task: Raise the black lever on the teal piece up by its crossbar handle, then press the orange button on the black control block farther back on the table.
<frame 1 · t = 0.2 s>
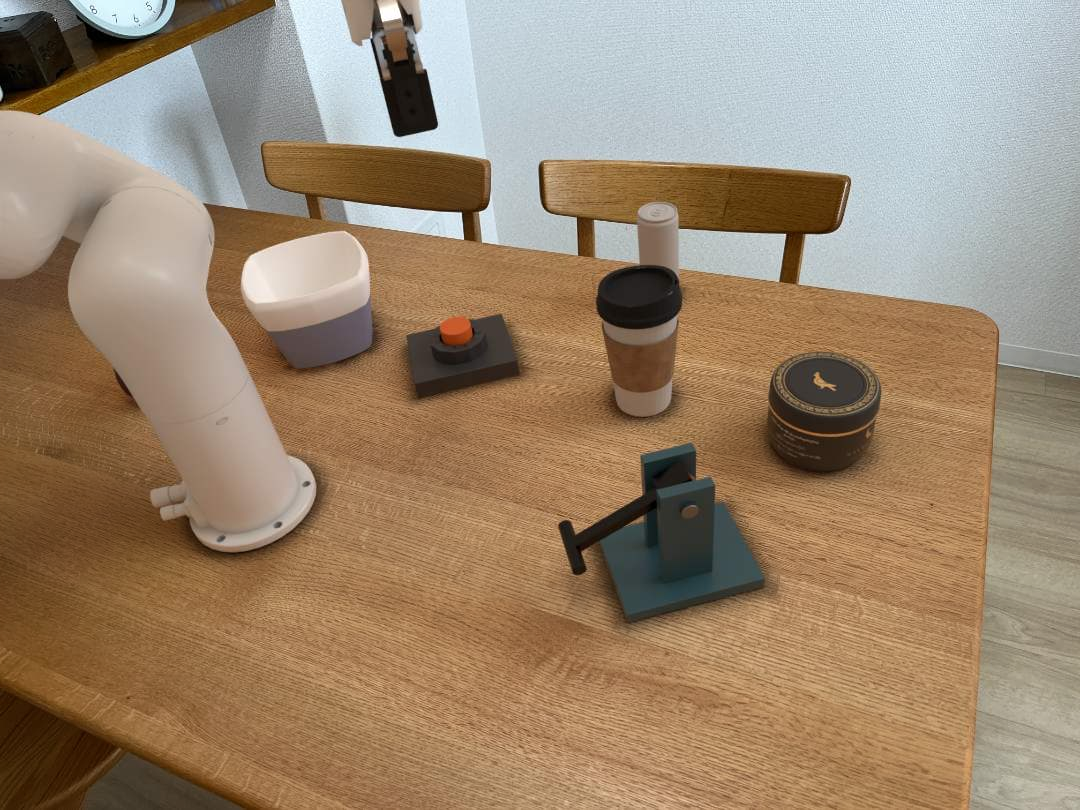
hand: (409, 108, 61), 36 cm above the table, tool pointing down, fingers open, 9 cm apart
coffee cup: (643, 400, 88), on the table
bowl: (329, 341, 104), on the table
teal piece: (678, 563, 71), on the table
button: (456, 331, 94), point 4 cm above the table, slide at 0.1 cm
beverage can: (659, 298, 102), on the table
jar: (816, 442, 80), on the table
lever: (627, 514, 65), point 8 cm above the table, hinge at -25.0°
potato: (161, 392, 100), on the table
button block: (463, 361, 97), on the table
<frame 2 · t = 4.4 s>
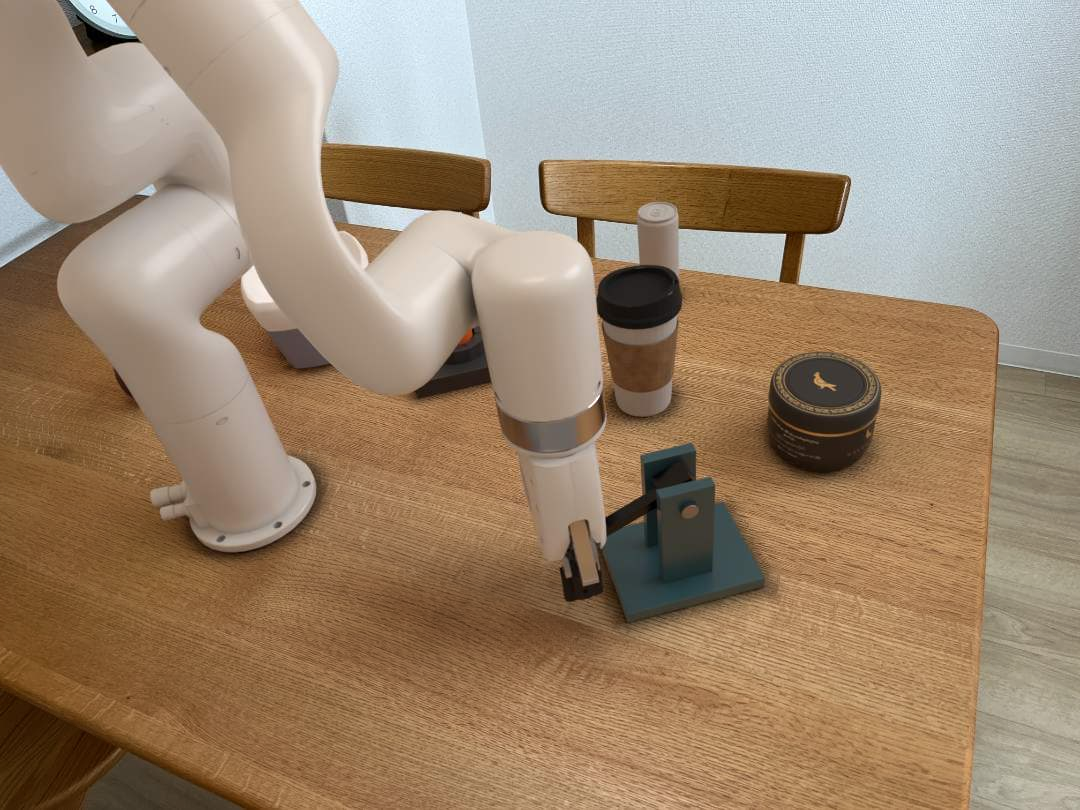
hand: (574, 566, 68), 3 cm above the table, tool pointing down, fingers closed on lever, 5 cm apart
lever: (627, 514, 65), point 8 cm above the table, hinge at -25.0°, touching gripper
everything else where it was.
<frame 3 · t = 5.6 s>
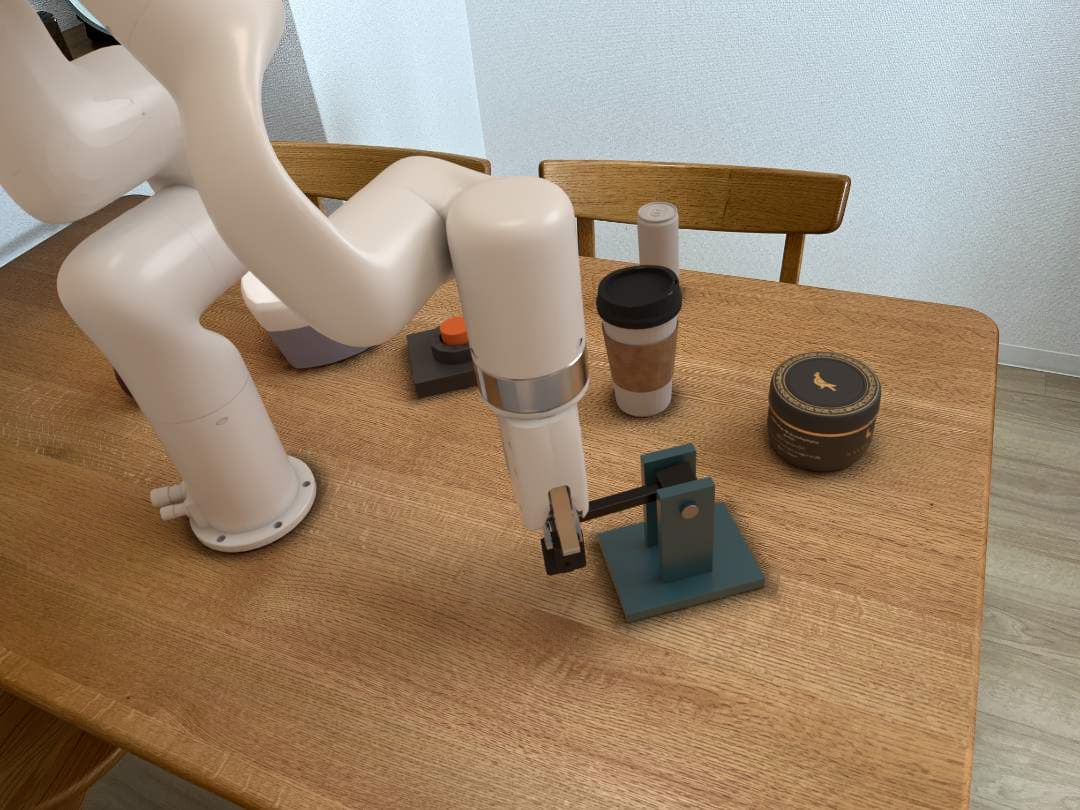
hand: (557, 539, 65), 7 cm above the table, tool pointing down, fingers closed on lever, 5 cm apart
lever: (621, 501, 64), point 10 cm above the table, hinge at -3.2°, touching gripper
everything else where it was.
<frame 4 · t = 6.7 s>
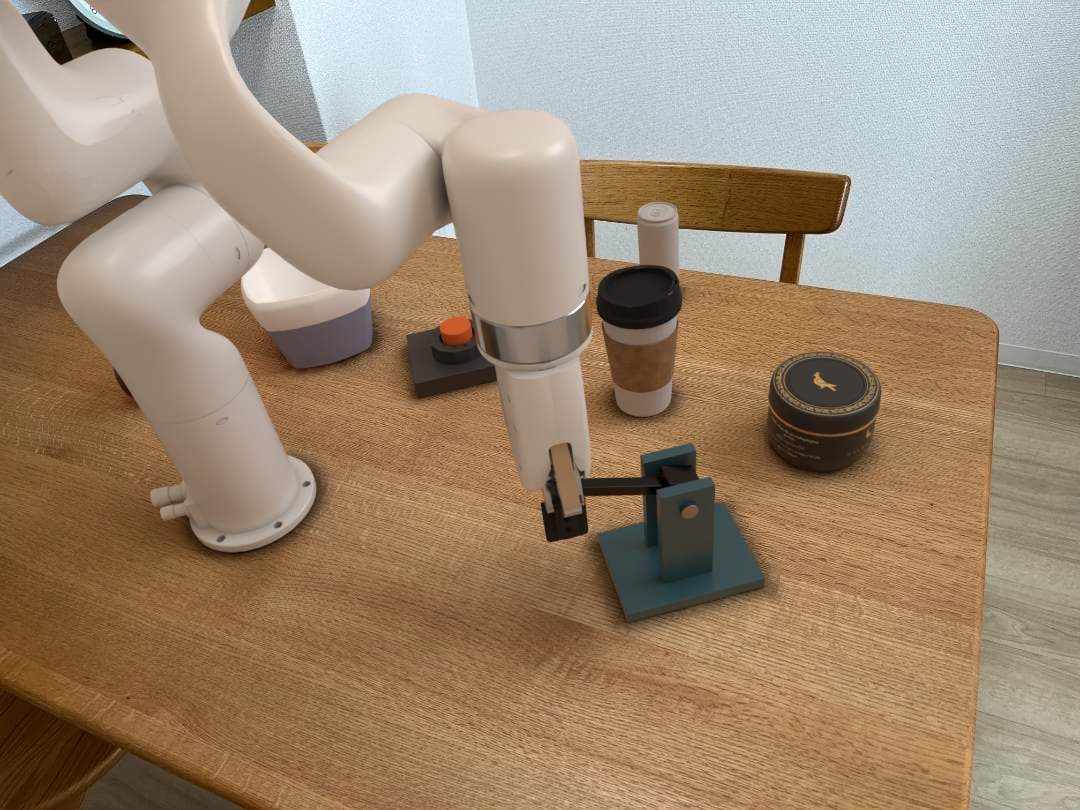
hand: (558, 505, 63), 11 cm above the table, tool pointing down, fingers closed on lever, 5 cm apart
lever: (623, 486, 63), point 11 cm above the table, hinge at 17.7°, touching gripper
everything else where it was.
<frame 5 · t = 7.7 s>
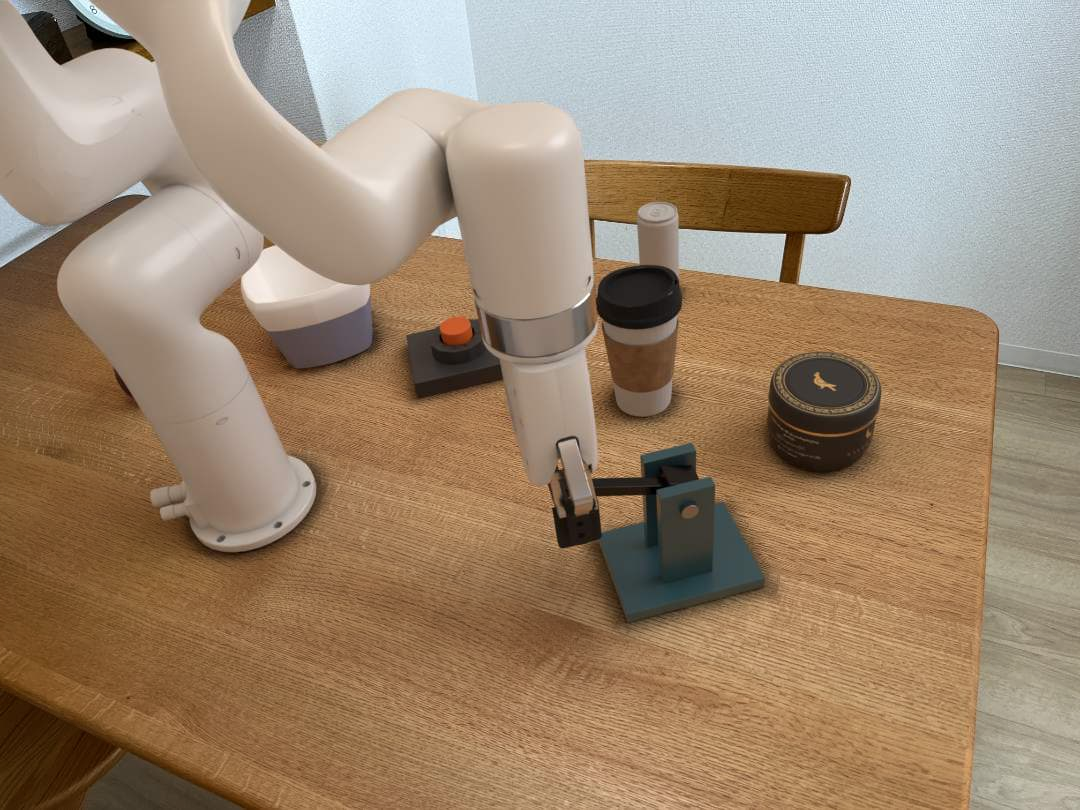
hand: (563, 493, 62), 12 cm above the table, tool pointing down, fingers open, 9 cm apart
lever: (623, 486, 63), point 11 cm above the table, hinge at 17.4°
everything else where it was.
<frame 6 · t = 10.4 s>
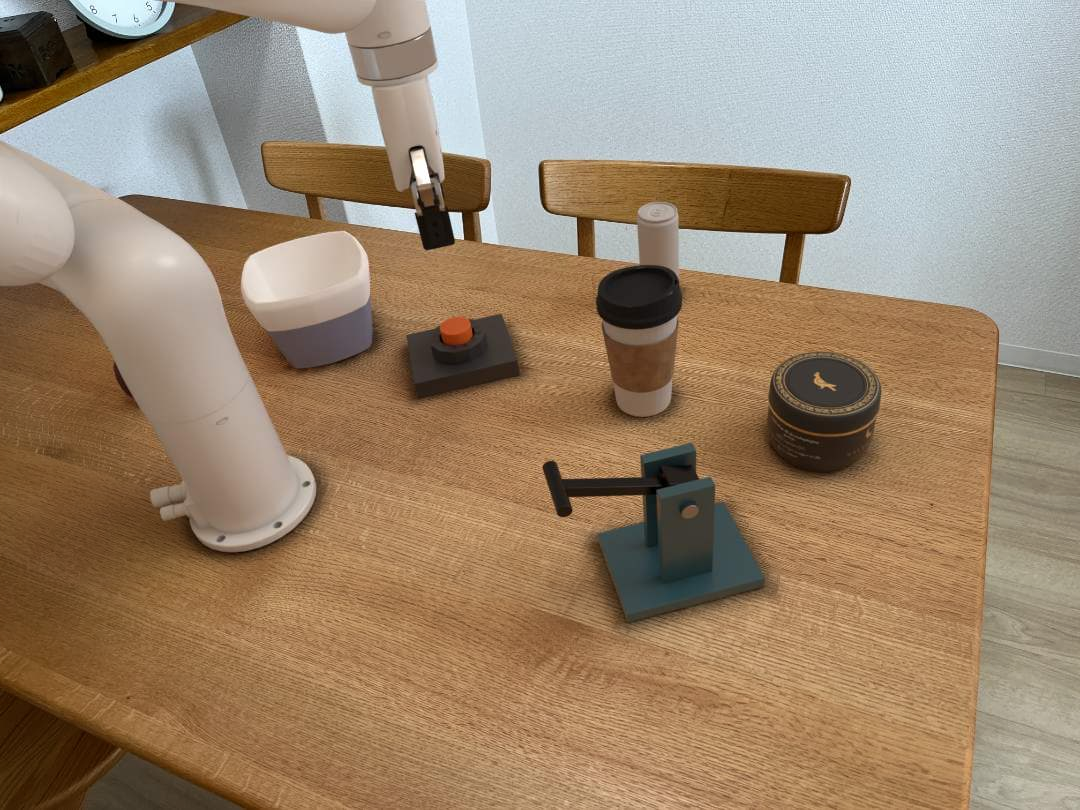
hand: (435, 223, 84), 19 cm above the table, tool pointing down, fingers open, 9 cm apart
nothing on the table moved.
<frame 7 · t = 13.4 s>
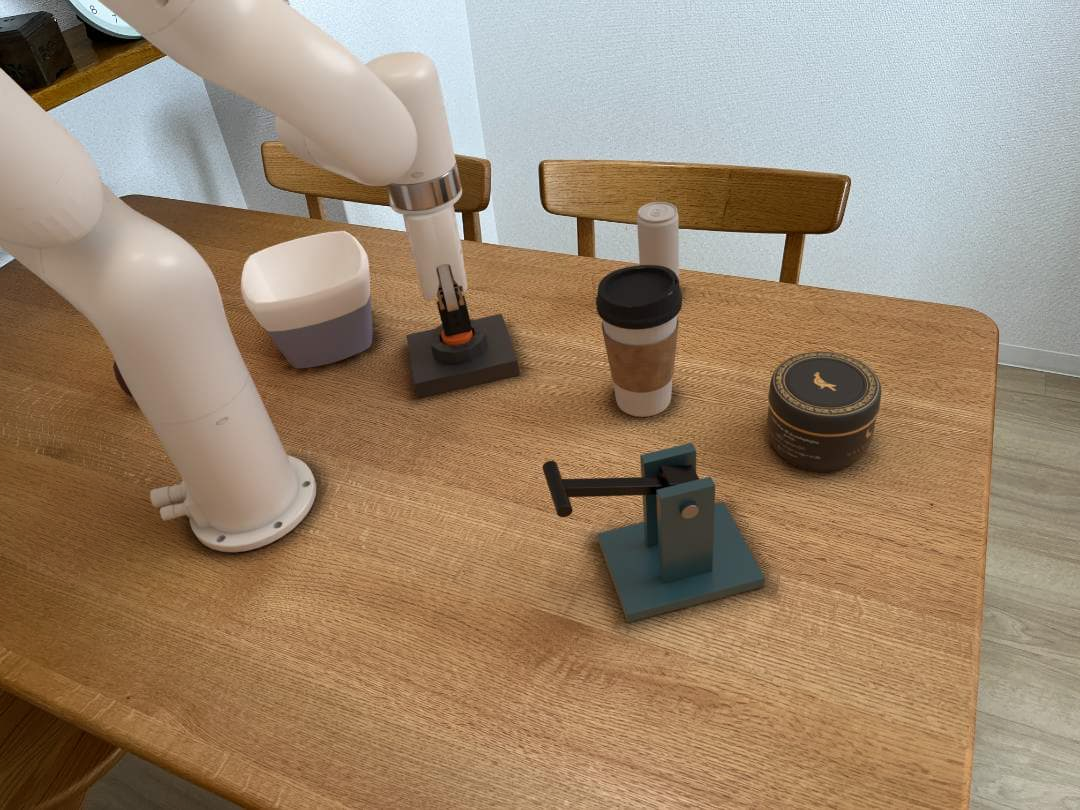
hand: (457, 330, 94), 5 cm above the table, tool pointing down, fingers closed
button: (457, 337, 94), point 4 cm above the table, slide at -0.8 cm, touching gripper
everything else where it was.
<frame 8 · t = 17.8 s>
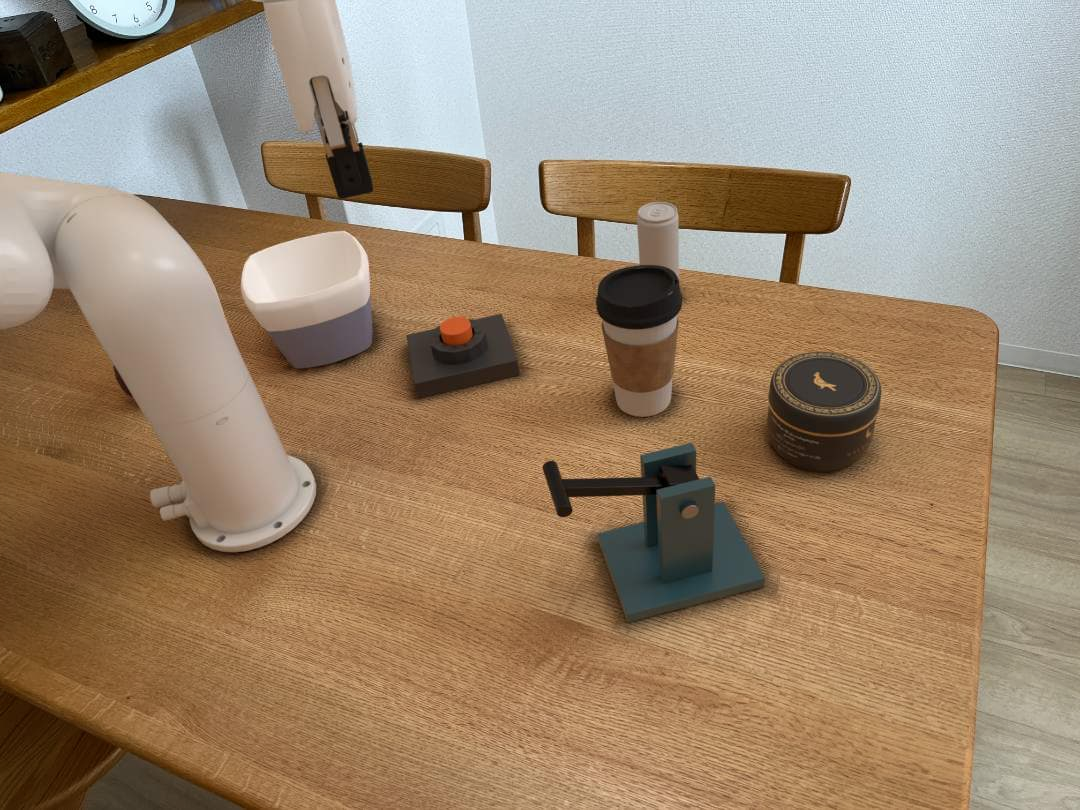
hand: (356, 191, 72), 27 cm above the table, tool pointing down, fingers closed
button: (456, 331, 94), point 4 cm above the table, slide at 0.1 cm
everything else where it was.
at the end: lever at +17° (first picture: -25°); button pushed in 1.1 cm at the most during the clip, back to where it started at the end; button slide at 0.1 cm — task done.
